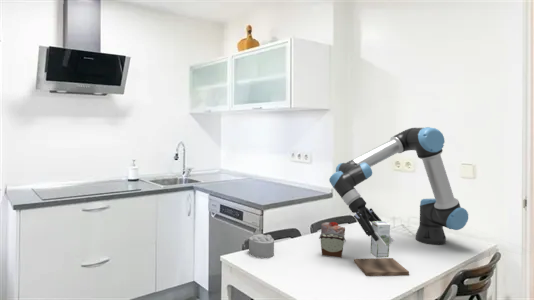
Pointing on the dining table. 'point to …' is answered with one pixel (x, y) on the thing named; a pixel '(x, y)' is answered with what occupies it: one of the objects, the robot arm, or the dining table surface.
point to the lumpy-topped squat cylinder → (261, 246)
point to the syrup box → (384, 233)
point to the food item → (332, 228)
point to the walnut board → (380, 267)
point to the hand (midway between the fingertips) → (387, 244)
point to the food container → (332, 244)
